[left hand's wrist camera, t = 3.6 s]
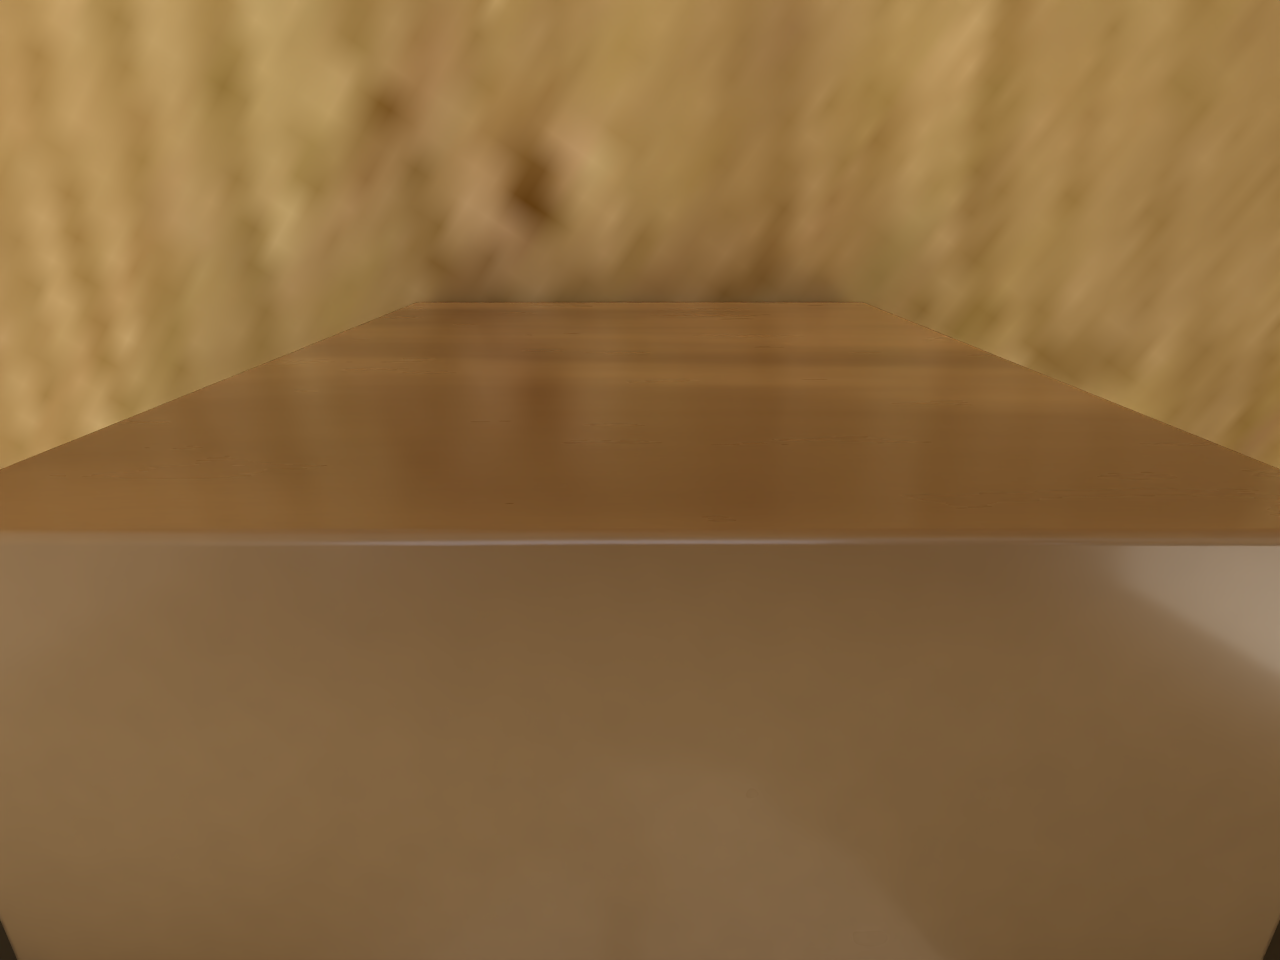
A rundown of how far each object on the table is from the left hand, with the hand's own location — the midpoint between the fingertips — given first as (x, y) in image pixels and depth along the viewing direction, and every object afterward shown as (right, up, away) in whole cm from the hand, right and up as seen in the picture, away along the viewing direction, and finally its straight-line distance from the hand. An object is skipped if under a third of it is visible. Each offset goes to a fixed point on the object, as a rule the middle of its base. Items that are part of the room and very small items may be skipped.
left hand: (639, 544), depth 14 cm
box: (0, -7, +4) cm, 8 cm away
